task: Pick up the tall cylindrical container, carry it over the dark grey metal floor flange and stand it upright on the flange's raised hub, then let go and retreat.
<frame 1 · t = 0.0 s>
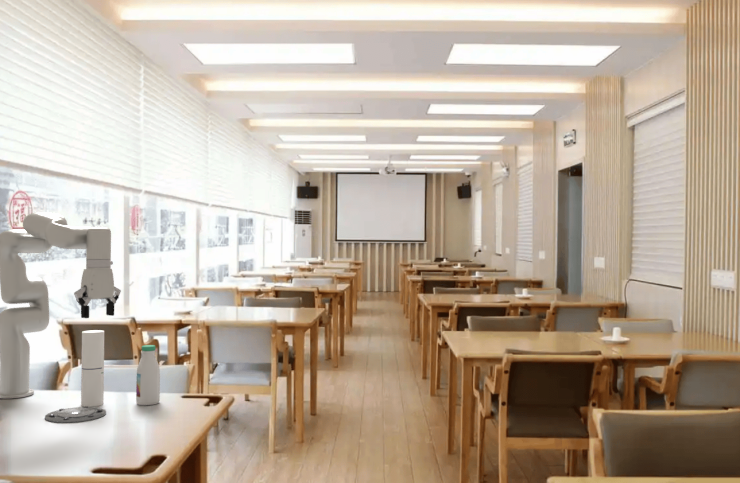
hand: (97, 316, 223), 31 cm above the table, tool pointing down, fingers open, 9 cm apart
milk bottle: (147, 403, 235), on the table
cylindrical container: (92, 404, 233), on the table
flange: (76, 415, 217), on the table
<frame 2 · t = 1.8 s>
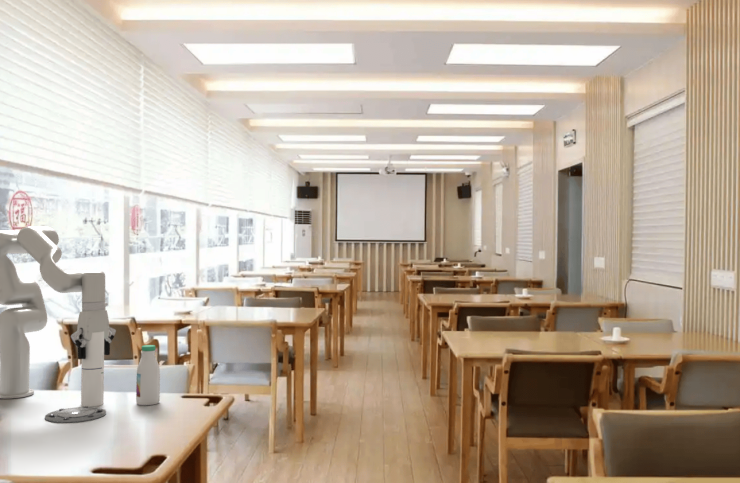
hand: (94, 356, 233), 16 cm above the table, tool pointing down, fingers open, 9 cm apart
nothing on the table moved.
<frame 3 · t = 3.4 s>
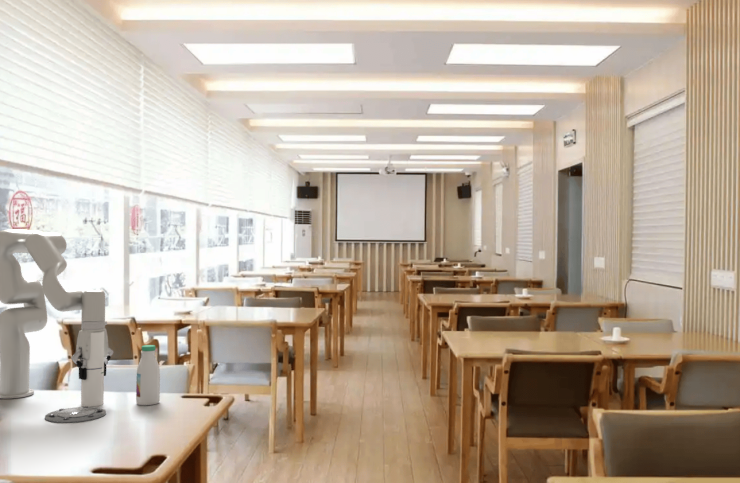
hand: (92, 377, 233), 9 cm above the table, tool pointing down, fingers closed on cylindrical container, 7 cm apart
cylindrical container: (92, 404, 233), on the table, touching gripper
everything else where it was.
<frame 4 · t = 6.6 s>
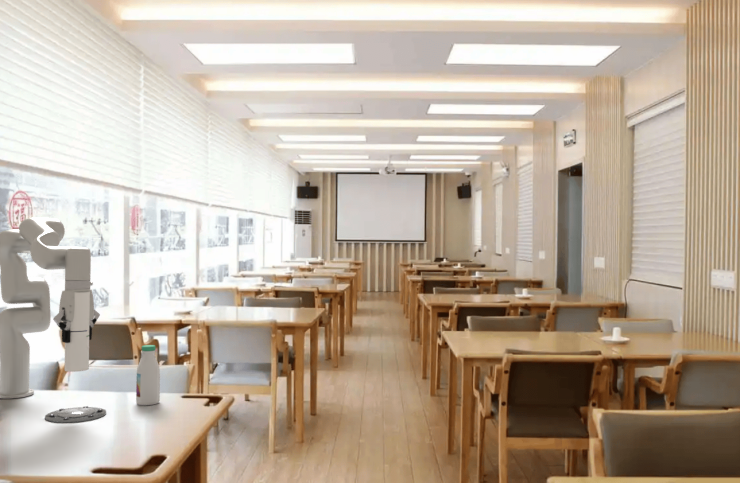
hand: (76, 340, 217), 24 cm above the table, tool pointing down, fingers closed on cylindrical container, 7 cm apart
cylindrical container: (76, 370, 217), point 15 cm above the table, touching gripper
everything else where it was.
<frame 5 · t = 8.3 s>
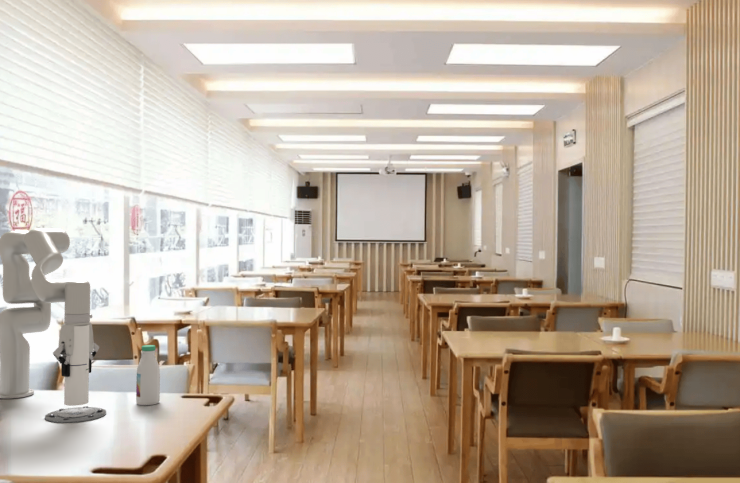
hand: (76, 374, 217), 13 cm above the table, tool pointing down, fingers closed on cylindrical container, 7 cm apart
cylindrical container: (76, 403, 217), point 4 cm above the table, touching gripper
everything else where it was.
when the fingers open (11 cm above the table, at t = 9.8 s): cylindrical container stays where it is, resting on flange.
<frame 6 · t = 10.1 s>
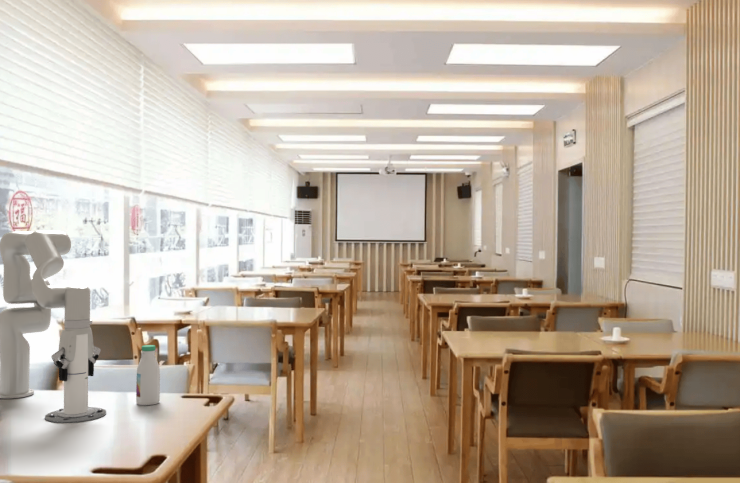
hand: (76, 378, 217), 12 cm above the table, tool pointing down, fingers open, 9 cm apart
cylindrical container: (75, 412, 217), point 1 cm above the table, touching flange
everything else where it was.
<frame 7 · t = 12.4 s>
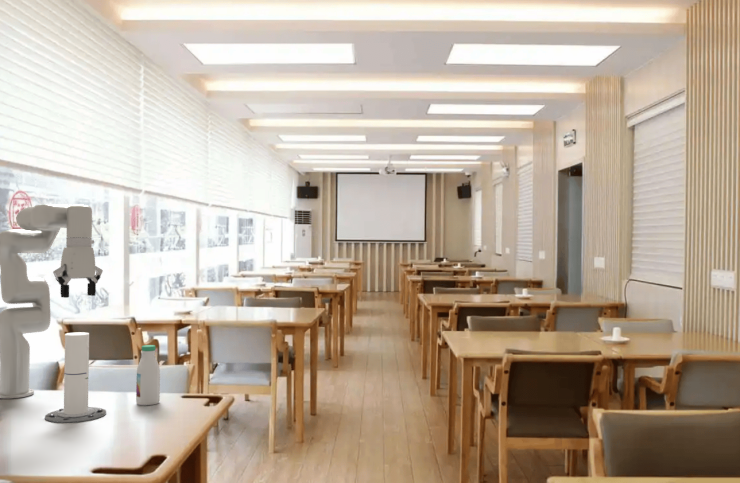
hand: (78, 296, 218), 38 cm above the table, tool pointing down, fingers open, 9 cm apart
nothing on the table moved.
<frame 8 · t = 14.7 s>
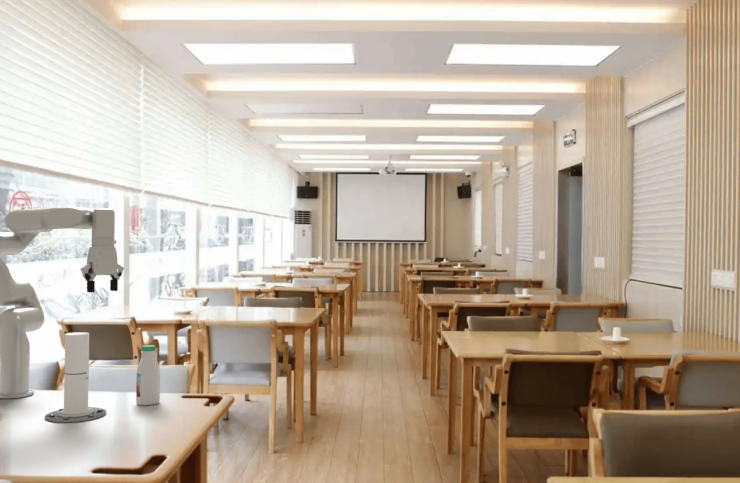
hand: (102, 291, 240), 38 cm above the table, tool pointing down, fingers open, 9 cm apart
nothing on the table moved.
at the end: cylindrical container 0.2 cm from the flange (horizontally); cylindrical container tilted 1°; cylindrical container point 1.0 cm above the table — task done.
